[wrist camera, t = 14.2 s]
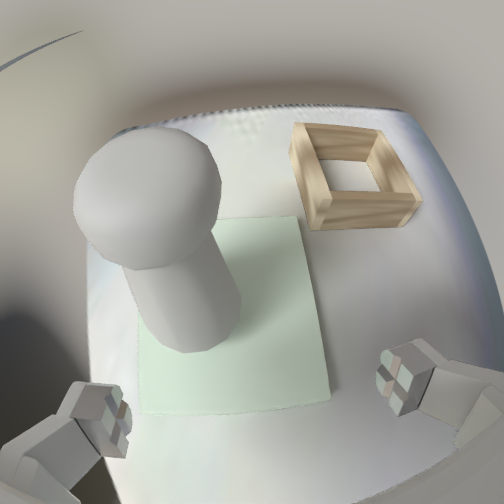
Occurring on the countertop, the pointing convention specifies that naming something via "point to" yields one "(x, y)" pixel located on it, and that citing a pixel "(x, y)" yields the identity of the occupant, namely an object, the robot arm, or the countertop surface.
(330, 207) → the wooden box
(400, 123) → the countertop surface
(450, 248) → the countertop surface
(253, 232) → the sage mat
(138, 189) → the salt shaker
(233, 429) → the countertop surface
